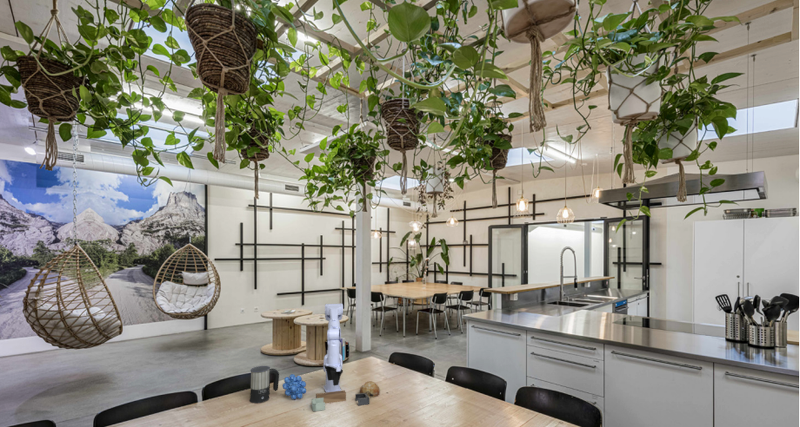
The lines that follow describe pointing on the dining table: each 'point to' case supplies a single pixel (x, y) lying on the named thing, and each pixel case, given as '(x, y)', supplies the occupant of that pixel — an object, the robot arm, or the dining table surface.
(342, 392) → the slat
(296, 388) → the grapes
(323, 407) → the sliding cap
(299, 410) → the dining table surface
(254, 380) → the milk frother
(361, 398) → the fixed cap
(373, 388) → the bread roll
